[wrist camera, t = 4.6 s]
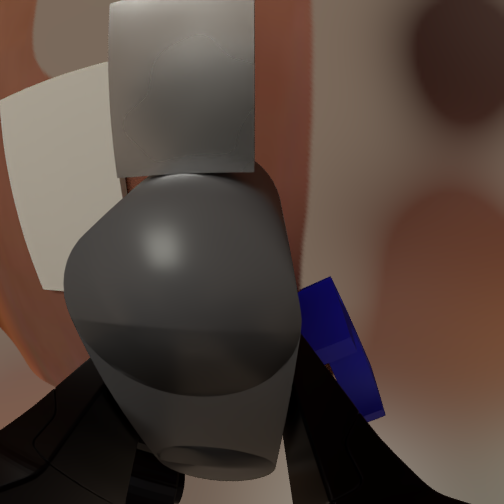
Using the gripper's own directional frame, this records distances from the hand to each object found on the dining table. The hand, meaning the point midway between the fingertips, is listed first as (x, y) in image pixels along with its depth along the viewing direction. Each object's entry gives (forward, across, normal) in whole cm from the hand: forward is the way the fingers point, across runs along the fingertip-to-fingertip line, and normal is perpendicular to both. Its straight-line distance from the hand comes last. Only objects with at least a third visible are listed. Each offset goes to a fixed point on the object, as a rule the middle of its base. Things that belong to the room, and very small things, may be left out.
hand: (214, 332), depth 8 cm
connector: (+1, 0, -1) cm, 2 cm away
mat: (+11, +12, -1) cm, 16 cm away
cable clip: (+11, -7, +12) cm, 18 cm away
